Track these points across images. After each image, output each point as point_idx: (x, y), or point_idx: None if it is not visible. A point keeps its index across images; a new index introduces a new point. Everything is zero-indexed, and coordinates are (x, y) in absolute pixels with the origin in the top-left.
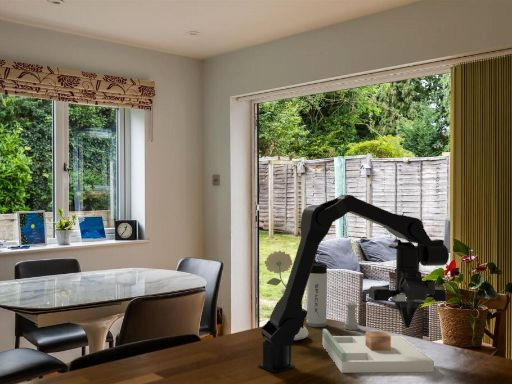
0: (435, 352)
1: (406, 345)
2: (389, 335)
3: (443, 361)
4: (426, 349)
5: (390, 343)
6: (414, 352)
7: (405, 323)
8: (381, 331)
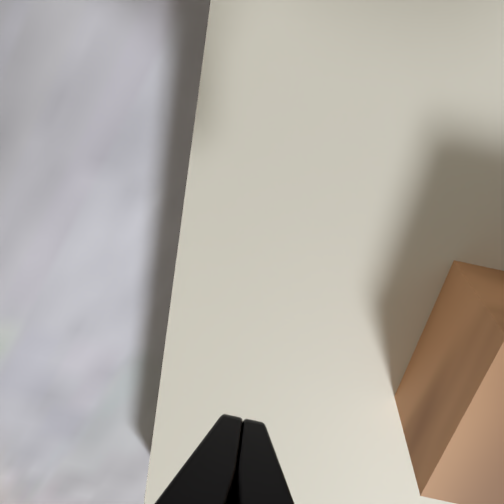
0: (4, 304)
1: (226, 342)
2: (490, 370)
3: (27, 104)
4: (38, 368)
5: (478, 292)
6: (275, 145)
7: (274, 464)
8: (454, 501)
